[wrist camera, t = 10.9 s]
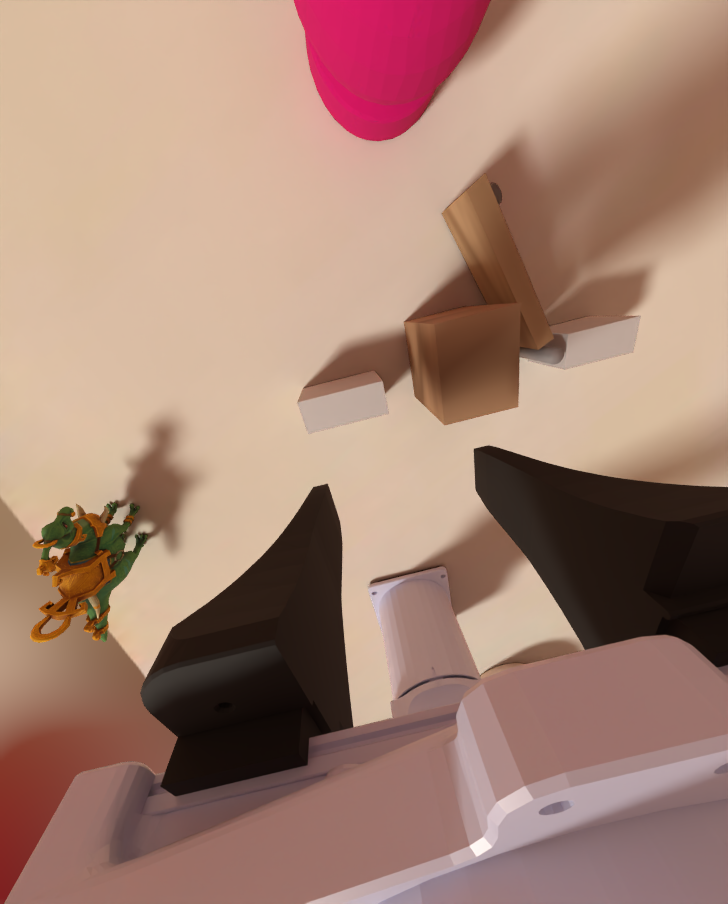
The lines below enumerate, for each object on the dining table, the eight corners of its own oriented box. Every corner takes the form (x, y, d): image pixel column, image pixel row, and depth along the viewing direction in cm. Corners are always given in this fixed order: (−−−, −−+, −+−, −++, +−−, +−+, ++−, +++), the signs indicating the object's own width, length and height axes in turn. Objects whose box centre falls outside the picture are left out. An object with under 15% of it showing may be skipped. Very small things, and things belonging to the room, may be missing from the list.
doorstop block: (468, 382, 20) (518, 406, 15) (414, 396, 20) (444, 425, 15) (464, 306, 18) (520, 302, 13) (403, 321, 18) (434, 324, 13)
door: (507, 344, 19) (538, 349, 16) (441, 213, 16) (466, 190, 13) (531, 326, 19) (567, 328, 16) (469, 188, 15) (500, 158, 12)
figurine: (140, 472, 21) (35, 558, 13) (161, 587, 26) (93, 695, 18) (92, 468, 20) (-45, 555, 13) (123, 586, 25) (37, 697, 18)
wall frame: (585, 346, 20) (638, 352, 16) (311, 415, 20) (307, 435, 17) (589, 315, 19) (645, 315, 16) (302, 388, 19) (296, 404, 16)
